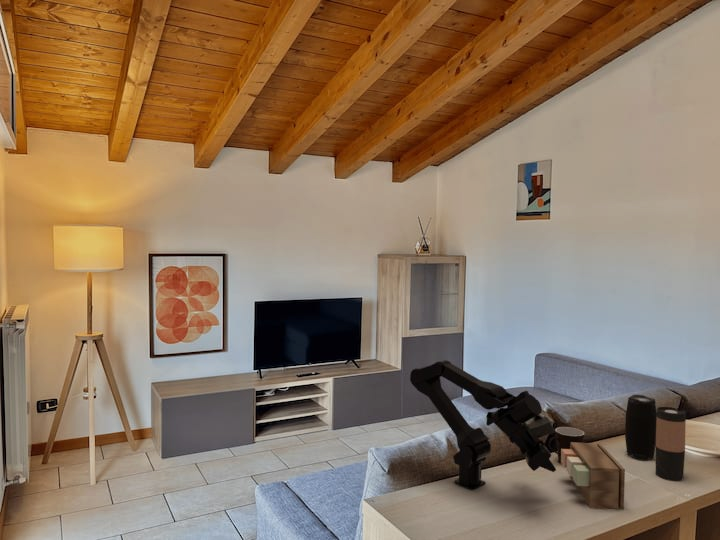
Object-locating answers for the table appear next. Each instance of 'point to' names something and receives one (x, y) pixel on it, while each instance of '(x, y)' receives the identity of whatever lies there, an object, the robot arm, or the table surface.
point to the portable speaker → (641, 427)
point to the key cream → (573, 463)
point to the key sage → (581, 475)
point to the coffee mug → (566, 439)
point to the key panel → (601, 477)
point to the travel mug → (670, 443)
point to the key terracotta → (567, 455)
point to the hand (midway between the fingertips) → (554, 470)
